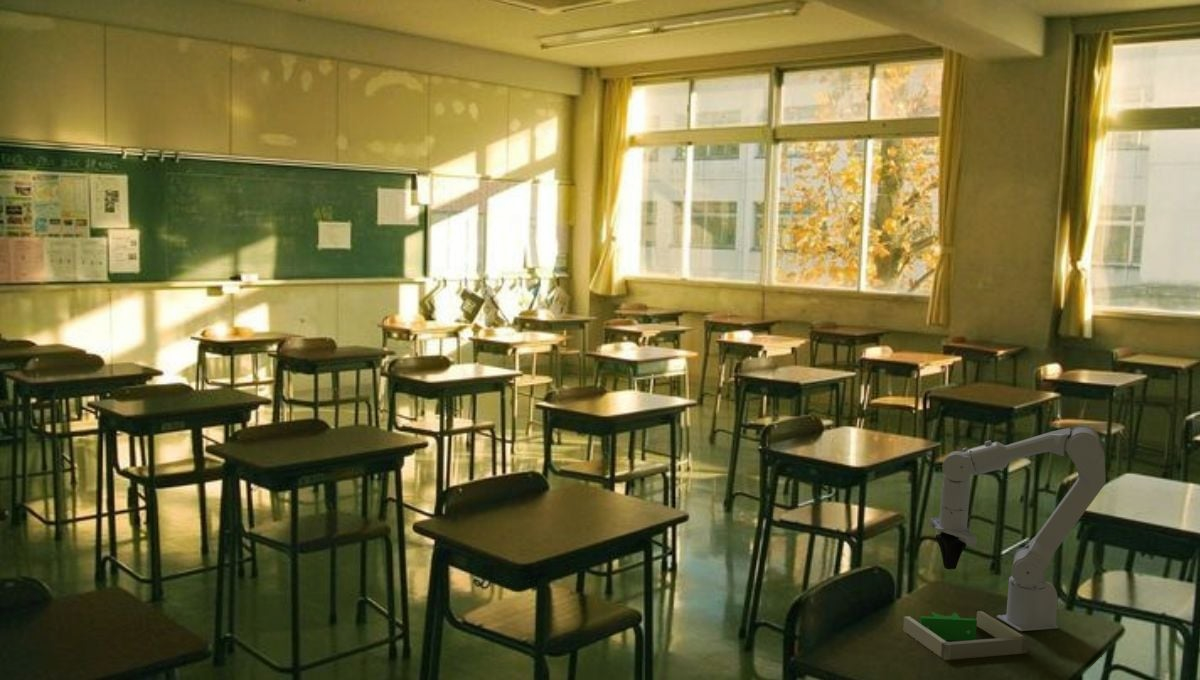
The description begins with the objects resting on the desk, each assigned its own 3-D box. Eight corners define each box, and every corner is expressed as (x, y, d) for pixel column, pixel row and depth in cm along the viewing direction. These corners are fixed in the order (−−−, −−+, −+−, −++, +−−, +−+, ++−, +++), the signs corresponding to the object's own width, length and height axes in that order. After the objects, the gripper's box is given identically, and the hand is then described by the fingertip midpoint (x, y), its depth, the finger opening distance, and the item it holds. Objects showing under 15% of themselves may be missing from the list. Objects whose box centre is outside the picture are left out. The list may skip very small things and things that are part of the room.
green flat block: (969, 635, 209) (971, 613, 209) (975, 642, 205) (977, 620, 205) (914, 632, 209) (916, 610, 209) (919, 639, 206) (921, 617, 205)
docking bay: (980, 624, 214) (981, 611, 214) (1026, 653, 200) (1027, 638, 200) (903, 630, 209) (904, 616, 209) (944, 660, 195) (945, 645, 195)
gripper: (919, 499, 226) (915, 558, 227) (958, 517, 212) (953, 580, 213) (947, 498, 228) (943, 557, 229) (987, 515, 214) (982, 578, 215)
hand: (949, 568), depth 221 cm, fingers closed
